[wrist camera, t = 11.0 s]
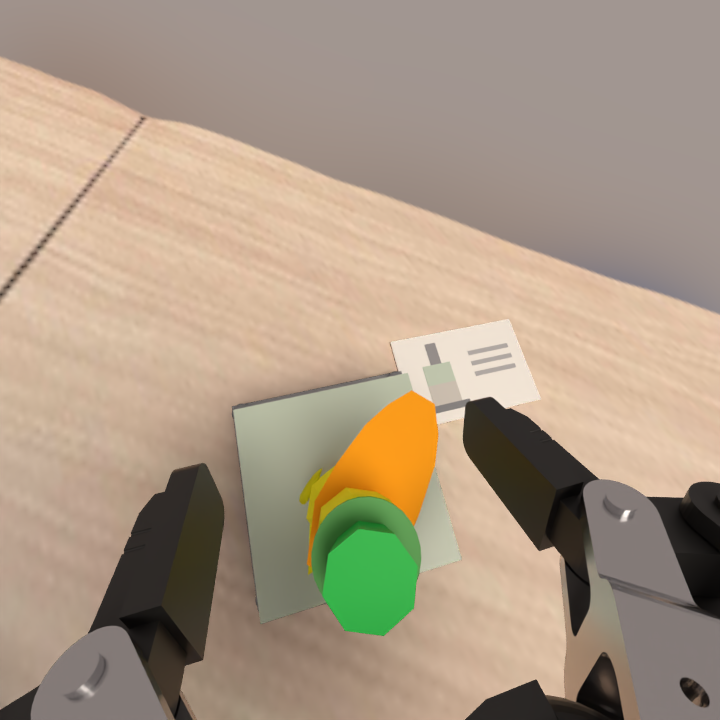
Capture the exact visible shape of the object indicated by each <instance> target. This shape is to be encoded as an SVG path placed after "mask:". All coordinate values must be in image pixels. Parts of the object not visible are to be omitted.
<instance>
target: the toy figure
mask: <svg viewBox="0 0 720 720" xmlns="http://www.w3.org/2000/svg"><path fill="white" fill-rule="evenodd" d="M437 442H438V427H437V419H436V410H435V404H434V403H432V402H431V401H429V400H427V399H426V398H424V397H422V396H420V395H419V394H417V393H415V392H414V391H412V390H411V391H410V392H408V393H406V394H405V395H403V396H401V397H400V398H398V399H396V400H395V401H393V402H391V403H390V404H388V405H387V406H386V407H385V408H383V409H382V410H381V411H380V412H379V413H378V414H377V415H376V416H374V417H373V418H372V419H371V420H370V421H369V422H368V423H367V424H366V425H365V426H364V427H363V429H362V430H361V431H360V433H359V434H358V435H357V437H356V438H355V439H354V441H353V442H352V443H351V445H350V446H349V447H348V449H347V450H346V451H345V453H344V454H343V456H342V457H341V458H340V460H339V461H338V462H337V464H336V465H335V466H334V467H332V468H331V469H330V470H329V471H327V472H326V473H325V474H324V475H322V476H321V477H320V475H321V472H322V468H321V469H319V470H318V471H317V472H316V473H315V474H314V475H313V476H312V478H311V479H310V480H309V482H308V483H307V484H306V486H305V488H304V489H303V491H302V493H301V494H300V499H299V502H300V503H301V504H304V505H305V504H306V503H307V501H308V500H309V505H308V511H307V517H306V519H307V520H308V522H309V523H310V529H309V551H308V559H307V565H308V575H309V574H311V573H312V572H313V576H314V580H315V582H316V584H317V587H318V589H319V591H320V593H321V594H322V597H323V598H324V600H325V601H326V603H327V604H328V606H329V607H330V609H331V610H332V612H333V613H334V615H335V616H336V618H337V619H338V621H339V622H340V624H341V625H342V627H343V628H344V630H345V631H350V632H358V633H365V634H373V635H381V636H384V635H385V634H386V633H388V632H389V631H390V630H391V629H392V628H393V627H394V626H395V625H396V624H397V623H398V622H399V621H401V620H402V619H403V618H404V617H405V616H406V615H407V614H408V613H409V612H410V611H411V610H413V609H414V602H415V591H416V582H417V579H418V576H419V573H420V566H421V546H420V542H419V539H418V535H417V532H416V530H415V528H414V525H415V523H416V521H417V518H418V516H419V513H420V510H421V507H422V504H423V501H424V498H425V495H426V492H427V488H428V485H429V482H430V479H431V476H432V473H433V470H434V467H435V459H436V451H437ZM309 498H310V499H309Z"/></svg>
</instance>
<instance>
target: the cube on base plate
mask: <svg viewBox="0 0 720 720" xmlns="http://www.w3.org/2000/svg"><path fill="white" fill-rule="evenodd" d="M411 390H412V391H413V389H412V385H411V382H410V379H409V375H408V373H405V374H402V372H401V371H398V372H392V373H389V374H384V375H379V376H375V377H370V378H365V379H360V380H356V381H351V382H346V383H341V384H337V385H332V386H327V387H322V388H318V389H313V390H308V391H303V392H299V393H294V394H289V395H284V396H280V397H275V398H270V399H265V400H261V401H256V402H251V403H246V404H239V405H237V406H232V410H233V411H232V416H233V419H234V425H235V433H236V441H237V449H238V457H239V465H240V473H241V481H242V489H243V497H244V504H245V512H246V520H247V528H248V536H249V544H250V552H251V560H252V568H253V575H254V583H255V591H256V605H257V607H258V611H259V616H260V624H263V623H266V622H269V621H272V620H275V619H279V618H282V617H285V616H288V615H291V614H294V613H297V612H300V611H304V610H307V609H310V608H313V607H316V606H319V605H322V604H325V603H326V601H325V600H324V598H323V597H322V594H321V593H320V591H319V589H318V587H317V584H316V582H315V580H314V576H313V572H312V573H311V574H309V575H308V565H307V559H308V551H309V529H310V523H309V522H308V520H307V519H306V517H307V511H308V505H309V500H308V501H307V503H306V504H305V505H304V504H301V503H300V502H299V499H300V494H301V493H302V491H303V489H304V488H305V486H306V484H307V483H308V482H309V480H310V479H311V478H312V476H313V475H314V474H315V473H316V472H317V471H318V470H319V469H321V468H322V472H321V475H320V477H321V476H322V475H324V474H325V473H326V472H327V471H329V470H330V469H331V468H332V467H334V466H335V465H336V464H337V462H338V461H339V460H340V458H341V457H342V456H343V454H344V453H345V451H346V450H347V449H348V447H349V446H350V445H351V443H352V442H353V441H354V439H355V438H356V437H357V435H358V434H359V433H360V431H361V430H362V429H363V427H364V426H365V425H366V424H367V423H368V422H369V421H370V420H371V419H372V418H373V417H374V416H376V415H377V414H378V413H379V412H380V411H381V410H382V409H383V408H385V407H386V406H387V405H388V404H390V403H391V402H393V401H395V400H396V399H398V398H400V397H401V396H403V395H405V394H406V393H408V392H410V391H411ZM309 499H310V498H309ZM414 528H415V530H416V532H417V535H418V539H419V542H420V546H421V566H420V573H422V572H425V571H428V570H431V569H434V568H438V567H441V566H444V565H447V564H450V563H453V562H456V561H459V560H462V558H461V555H460V551H459V548H458V544H457V541H456V537H455V534H454V530H453V527H452V523H451V520H450V517H449V513H448V510H447V506H446V503H445V499H444V496H443V492H442V489H441V486H440V482H439V479H438V475H437V472H436V468H435V467H434V470H433V473H432V476H431V479H430V482H429V485H428V488H427V492H426V495H425V498H424V501H423V504H422V507H421V510H420V513H419V516H418V518H417V521H416V523H415V525H414Z"/></svg>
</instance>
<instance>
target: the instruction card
mask: <svg viewBox="0 0 720 720" xmlns="http://www.w3.org/2000/svg"><path fill="white" fill-rule="evenodd" d="M390 345H391V348H392V352H393V355H394V359H395V362H396V366H397V369H398V371H401V372H402V374H405V373H408V375H409V379H410V382H411V385H412V389H413V391H414V392H415V393H417V394H419V395H420V396H422V397H424V398H426V399H427V400H429V401H431V402H432V403H434V404H435V410H436V419H437V425H438V424H442V423H446V422H450V421H454V420H458V419H462V418H464V415H465V405H466V403H467V402H469V401H473V400H477V399H481V398H486V397H493V398H494V399H495V400H496V401H498V402H499V403H500V404H501V405H502V406H503V407H504V408H508V407H512V406H516V405H520V404H524V403H528V402H532V401H536V400H540V399H541V397H540V395H539V392H538V390H537V387H536V385H535V382H534V380H533V377H532V375H531V372H530V370H529V367H528V365H527V363H526V360H525V358H524V355H523V353H522V350H521V348H520V345H519V343H518V340H517V338H516V335H515V333H514V330H513V328H512V325H511V323H510V320H509V319H506V320H501V321H496V322H491V323H486V324H481V325H475V326H470V327H465V328H460V329H455V330H450V331H444V332H439V333H434V334H429V335H424V336H419V337H414V338H408V339H403V340H398V341H393V342H390Z"/></svg>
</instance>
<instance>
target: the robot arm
mask: <svg viewBox="0 0 720 720" xmlns="http://www.w3.org/2000/svg"><path fill="white" fill-rule="evenodd" d="M463 444H464V447H465V450H466V453H467V454H468V456H469V458H470V459H471V460H472V462H473V463H474V464H475V466H476V467H477V468H478V470H479V471H480V473H481V474H482V475H483V477H484V478H485V479H486V481H487V482H488V483H489V485H490V486H491V487H492V489H493V490H494V491H495V493H496V494H497V495H498V497H499V498H500V499H501V501H502V502H503V503H504V505H505V506H506V507H507V509H508V510H509V511H510V513H511V514H512V515H513V517H514V518H515V519H516V521H517V522H518V524H519V525H520V526H521V528H522V529H523V530H524V532H525V533H526V534H527V536H528V537H529V538H530V540H531V541H532V542H533V544H534V545H535V546H536V548H537V549H538V550H539V551H541V550H544V549H547V548H550V547H553V546H554V547H555V548H556V549H557V550H558V552H559V553H560V554H561V556H560V573H561V584H562V595H563V606H564V617H565V628H566V642H567V645H566V657H565V667H564V688H565V698H560V697H555V696H550V695H545V694H544V693H543V691H542V689H541V687H540V685H539V683H538V681H537V680H533V681H531V682H528V683H526V684H523V685H521V686H518V687H516V688H513V689H511V690H508V691H506V692H504V693H501V694H499V695H496V696H494V697H491V698H489V699H486V700H485V701H484V702H483V703H482V704H481V705H480V706H479V707H478V708H477V709H476V710H475V711H474V712H473V713H472V714H471V715H469V716H468V717H467V718H466V719H465V720H720V484H719V483H714V482H698V483H695V484H693V485H692V486H690V488H689V490H688V491H687V493H686V495H685V497H684V498H671V497H645V496H644V495H643V494H641V493H640V492H639V491H637V490H635V489H633V488H632V487H630V486H627V485H625V484H622V483H620V482H616V481H612V480H602V479H601V480H600V479H598V478H597V477H596V476H595V475H594V474H592V473H591V472H590V471H589V470H588V469H587V468H586V467H584V466H583V465H582V464H581V463H580V462H579V461H578V460H576V459H575V458H574V457H573V456H572V455H571V454H570V453H568V452H567V451H566V450H565V449H564V448H563V447H562V446H560V445H559V444H558V443H557V442H556V441H555V440H552V439H551V437H550V436H549V435H548V434H547V433H546V432H544V431H543V430H542V431H541V429H540V427H539V426H538V425H536V424H535V423H534V422H533V421H532V420H531V419H530V418H528V417H527V416H525V415H523V414H521V413H519V412H517V411H515V410H513V409H511V408H510V409H505V408H504V407H503V406H502V405H501V404H500V403H499V402H498V401H496V400H495V399H494V398H493V397H486V398H481V399H477V400H473V401H469V402H467V403H466V405H465V415H464V429H463ZM223 525H224V506H223V501H222V498H221V496H220V494H219V491H218V489H217V487H216V485H215V482H214V480H213V478H212V476H211V474H210V471H209V469H208V467H207V466H206V464H204V463H201V464H197V465H192V466H188V467H184V468H180V469H176V470H174V471H173V472H172V474H171V476H170V479H169V482H168V484H167V487H166V490H165V492H162V493H158V494H155V495H154V496H153V497H152V498H151V500H150V501H149V502H148V503H147V504H146V506H145V507H144V508H143V509H142V511H141V512H140V513H139V515H138V518H137V520H136V522H135V525H134V527H133V529H132V532H131V537H129V539H128V541H127V544H126V546H125V548H124V554H122V556H121V558H120V560H119V563H118V565H117V567H116V570H115V572H114V575H113V577H112V579H111V582H110V584H109V586H108V589H107V591H106V594H105V596H104V598H103V601H102V603H101V605H100V608H99V610H98V613H97V615H96V617H95V620H94V622H93V624H92V626H91V628H90V631H89V632H88V634H87V635H86V636H84V637H82V638H81V639H80V640H78V641H77V642H76V643H74V644H73V645H72V646H71V647H70V648H69V649H68V650H66V651H65V652H64V654H63V655H62V656H61V657H60V658H59V659H58V660H57V661H56V662H55V664H54V665H53V666H52V667H51V669H50V670H49V672H48V673H47V674H46V676H45V677H44V679H43V681H42V683H41V684H40V685H39V686H38V687H36V688H35V689H33V690H32V691H30V692H29V693H27V694H25V695H24V696H22V697H20V698H19V699H17V700H16V701H14V702H12V703H11V704H9V705H8V706H6V707H4V708H3V709H1V710H0V720H197V719H196V717H195V715H194V713H193V712H192V710H191V708H190V706H189V704H188V702H187V700H186V698H185V696H184V694H183V692H182V691H181V684H182V678H183V673H184V668H185V666H186V665H189V664H192V663H195V662H198V661H201V660H203V657H204V650H205V644H206V637H207V631H208V624H209V617H210V611H211V604H212V598H213V591H214V584H215V578H216V571H217V565H218V558H219V551H220V545H221V538H222V532H223Z"/></svg>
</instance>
